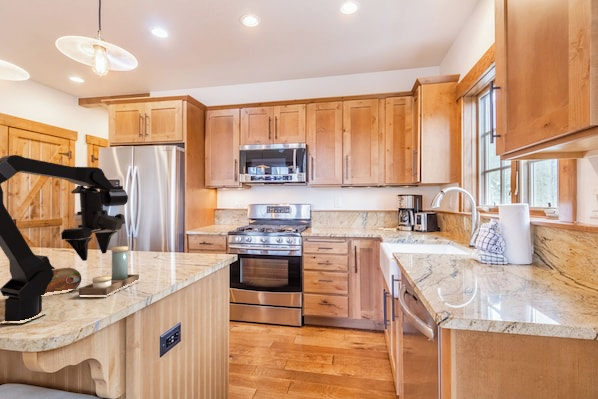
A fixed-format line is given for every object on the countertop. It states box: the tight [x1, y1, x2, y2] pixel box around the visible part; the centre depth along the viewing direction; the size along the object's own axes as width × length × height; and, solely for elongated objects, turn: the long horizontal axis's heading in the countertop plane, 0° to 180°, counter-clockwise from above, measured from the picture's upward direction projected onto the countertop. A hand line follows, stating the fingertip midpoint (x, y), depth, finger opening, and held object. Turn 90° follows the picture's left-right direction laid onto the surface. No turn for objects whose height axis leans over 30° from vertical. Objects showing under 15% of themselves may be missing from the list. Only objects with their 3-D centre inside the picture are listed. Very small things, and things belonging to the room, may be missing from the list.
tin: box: [45, 267, 82, 293], centre depth 92 cm, size 15×3×8 cm, turn 129°
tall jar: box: [111, 245, 129, 280], centre depth 101 cm, size 5×5×14 cm
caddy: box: [78, 273, 140, 296], centre depth 97 cm, size 18×9×3 cm, turn 179°
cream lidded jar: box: [92, 274, 112, 288], centre depth 93 cm, size 5×5×5 cm
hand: (94, 256), depth 88 cm, fingers open, 9 cm apart
